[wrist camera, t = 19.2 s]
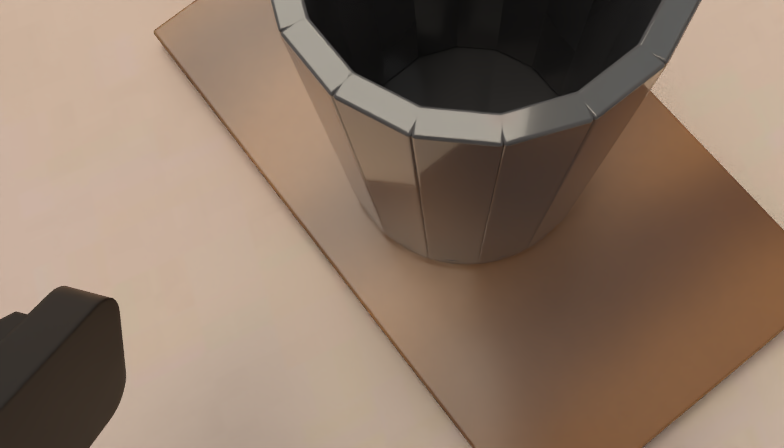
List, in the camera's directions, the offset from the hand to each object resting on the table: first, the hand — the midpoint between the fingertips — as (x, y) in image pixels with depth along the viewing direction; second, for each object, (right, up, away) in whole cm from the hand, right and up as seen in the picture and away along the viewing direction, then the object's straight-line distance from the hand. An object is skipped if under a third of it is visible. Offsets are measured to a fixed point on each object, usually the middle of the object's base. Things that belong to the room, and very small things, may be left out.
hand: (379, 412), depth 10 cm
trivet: (+2, +4, +9) cm, 10 cm away
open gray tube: (+2, +5, +8) cm, 10 cm away
